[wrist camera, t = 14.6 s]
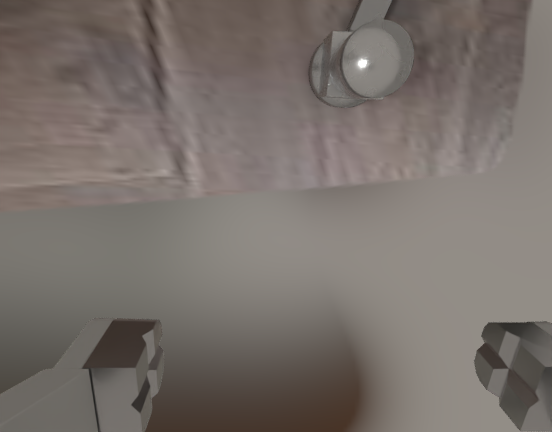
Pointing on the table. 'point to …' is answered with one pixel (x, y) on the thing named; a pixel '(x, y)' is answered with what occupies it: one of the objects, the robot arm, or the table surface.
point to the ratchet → (368, 9)
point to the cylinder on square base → (366, 61)
